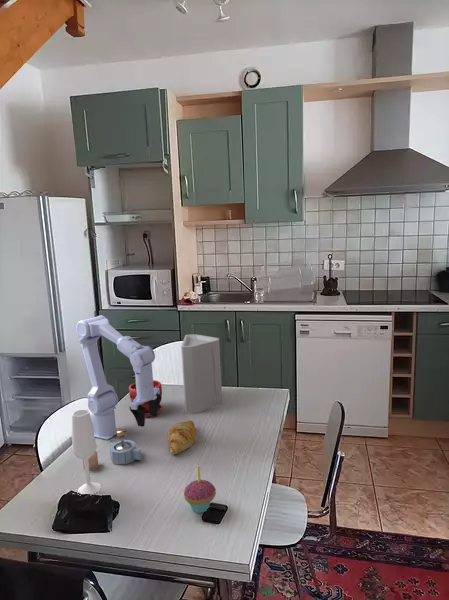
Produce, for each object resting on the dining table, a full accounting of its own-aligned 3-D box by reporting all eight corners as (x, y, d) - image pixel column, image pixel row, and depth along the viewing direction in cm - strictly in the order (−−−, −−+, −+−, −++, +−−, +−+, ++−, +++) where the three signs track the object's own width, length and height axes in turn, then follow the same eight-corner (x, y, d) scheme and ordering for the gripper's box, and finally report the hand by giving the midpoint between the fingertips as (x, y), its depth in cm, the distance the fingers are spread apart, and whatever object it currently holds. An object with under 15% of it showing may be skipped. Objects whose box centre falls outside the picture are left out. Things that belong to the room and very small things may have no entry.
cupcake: (185, 499, 123) (182, 459, 120) (215, 496, 123) (213, 456, 121) (185, 519, 114) (182, 477, 112) (217, 516, 115) (215, 474, 113)
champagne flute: (88, 498, 125) (79, 419, 121) (72, 491, 128) (63, 415, 124) (105, 486, 131) (97, 410, 126) (90, 480, 134) (82, 406, 130)
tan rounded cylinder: (80, 469, 141) (79, 456, 140) (90, 461, 145) (88, 449, 144) (91, 471, 139) (90, 458, 138) (101, 464, 143) (100, 451, 142)
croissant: (182, 467, 145) (191, 448, 143) (155, 453, 146) (164, 434, 144) (198, 435, 165) (206, 418, 163) (174, 422, 166) (182, 405, 164)
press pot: (104, 461, 144) (103, 449, 144) (120, 449, 152) (119, 438, 151) (133, 467, 140) (131, 455, 139) (147, 455, 147) (146, 443, 146)
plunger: (112, 449, 144) (111, 432, 143) (121, 443, 148) (120, 426, 147) (124, 452, 142) (122, 434, 141) (132, 445, 146) (131, 428, 145)
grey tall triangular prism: (222, 412, 177) (218, 345, 172) (185, 414, 177) (180, 347, 172) (222, 394, 196) (219, 333, 191) (189, 395, 196) (185, 334, 191)
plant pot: (169, 409, 183) (167, 381, 181) (148, 421, 172) (146, 392, 170) (146, 403, 190) (144, 376, 188) (124, 415, 179) (121, 387, 177)
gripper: (142, 392, 139) (145, 432, 141) (166, 377, 152) (168, 413, 154) (123, 390, 142) (127, 429, 144) (148, 374, 155) (151, 411, 157)
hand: (147, 421), depth 150 cm, fingers open, 7 cm apart
